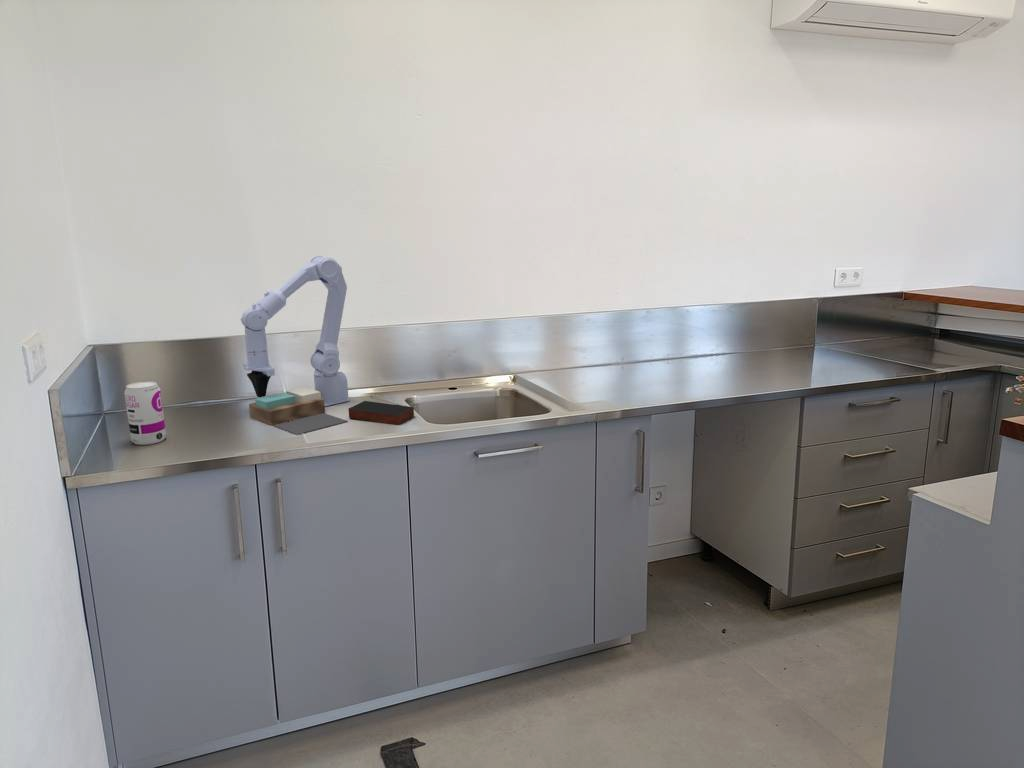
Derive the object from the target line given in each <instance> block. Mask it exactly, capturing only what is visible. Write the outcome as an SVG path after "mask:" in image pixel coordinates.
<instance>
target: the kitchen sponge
mask: <svg viewBox="0 0 1024 768" xmlns="http://www.w3.org/2000/svg"><path fill="white" fill-rule="evenodd" d="M370 398H373V399H376V400H380V401H383V402H384V403H383V402H377V401H370V400H364V401H361V402H359V403H357V404H355V405H353V406H351V407H349V408H348V418H349V419H354V420H362V421H369V422H376V423H377V422H378V423H381V424H382V423H384V424H391V425H397V426H399V425H402V424H403V423H405V422H407V421H409V420H410V419H412V418H414V417H415V409H414V408H415V407H414V406H408V405H402V404H399V403H394V402H391V401H387V400H384V399H381V398H377V397H373V396H372V395H371V396H370ZM385 402H387V403H385Z"/></svg>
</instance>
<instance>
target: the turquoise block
mask: <svg viewBox="0 0 1024 768" xmlns="http://www.w3.org/2000/svg"><path fill="white" fill-rule="evenodd" d="M254 400H255V402H254V403H256V406H259V407H261V408H264V409H270V408H275V407H279V406H284V405H288V404H292V403H295V396H293V395H290V394H287V393H286V392H280V393H276V394H275V393H274V394H272V395H267V396H264V397H257V398H255V399H254Z"/></svg>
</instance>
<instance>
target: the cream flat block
mask: <svg viewBox="0 0 1024 768" xmlns="http://www.w3.org/2000/svg"><path fill="white" fill-rule="evenodd" d="M285 393H287V394H290V395H293V396H295V400H296V401H299V402H302V403H304V402H308V401H312V400H317V399H321V392H319V391H316V390H315V389H312V388H308V387H306V386H302V387H298V388H291V389H289V390H286V391H285Z"/></svg>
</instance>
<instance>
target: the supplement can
mask: <svg viewBox="0 0 1024 768" xmlns="http://www.w3.org/2000/svg"><path fill="white" fill-rule="evenodd" d="M124 400H125V408H126V413H127V420H128V422H127V423H128V428H129V434H130V440H131V442H132V443H134V444H135V445H139V446H148V445H155V444H158V443H160V442H163V441H164V440H165V438H166V437H167V430H166V424H165V423H166V422H165V414H164V407H163V401H162V391H161V387H160V386H159V385H158V383H157V382H156V381H139V382H138V381H137V382H133V383H129V384H127V385H126V386H125V390H124Z"/></svg>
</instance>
